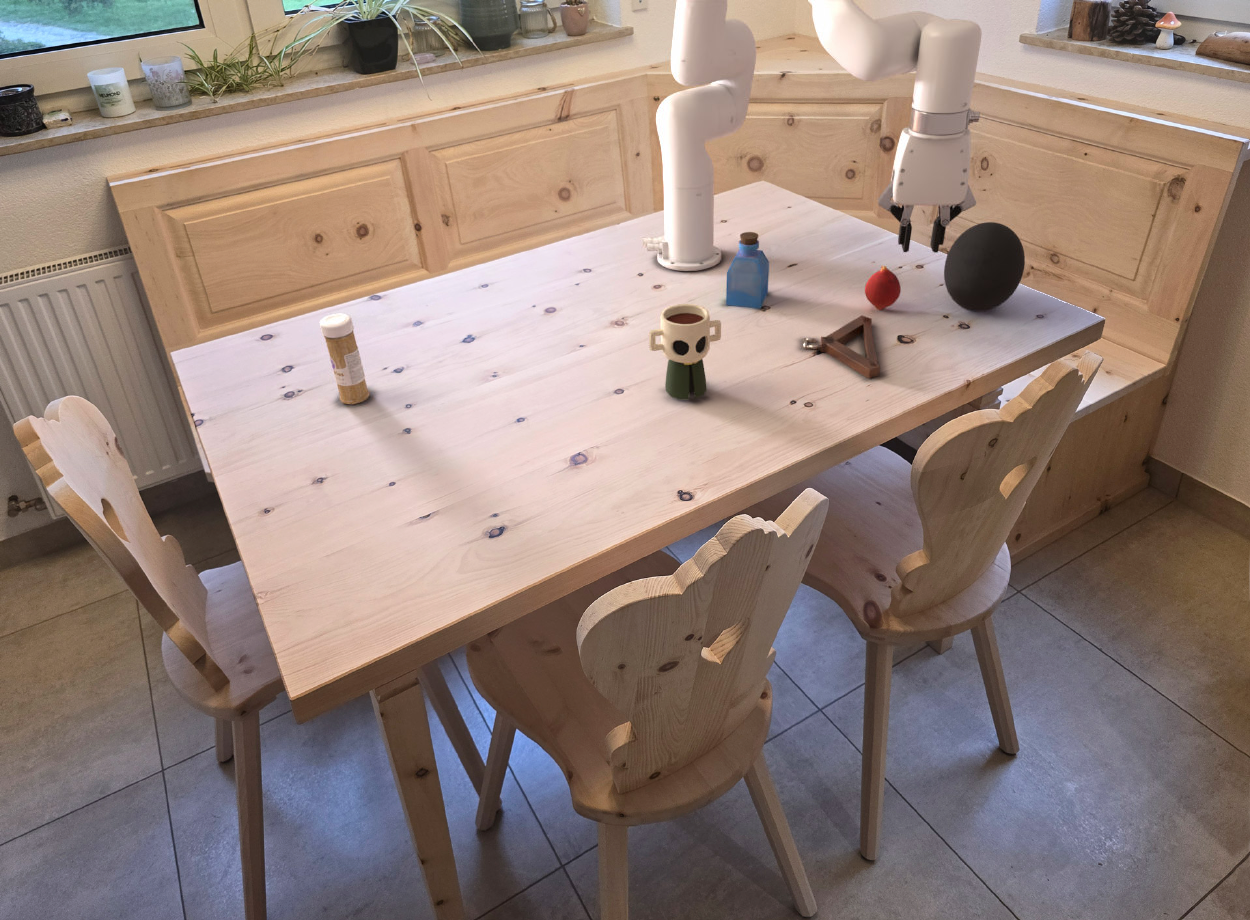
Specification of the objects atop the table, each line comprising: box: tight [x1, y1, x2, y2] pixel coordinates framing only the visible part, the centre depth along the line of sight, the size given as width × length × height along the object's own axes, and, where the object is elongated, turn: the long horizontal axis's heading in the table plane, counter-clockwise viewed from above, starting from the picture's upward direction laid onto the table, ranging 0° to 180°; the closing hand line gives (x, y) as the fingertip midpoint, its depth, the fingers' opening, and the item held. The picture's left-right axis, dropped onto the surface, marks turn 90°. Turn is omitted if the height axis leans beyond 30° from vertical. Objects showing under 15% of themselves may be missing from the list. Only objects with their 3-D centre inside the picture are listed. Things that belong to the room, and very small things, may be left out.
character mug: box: [648, 303, 722, 401], centre depth 131 cm, size 11×7×13 cm, turn 104°
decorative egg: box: [943, 221, 1026, 312], centre depth 149 cm, size 12×12×15 cm
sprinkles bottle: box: [319, 313, 370, 405], centre depth 134 cm, size 5×5×13 cm
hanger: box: [802, 314, 881, 379], centre depth 143 cm, size 11×18×2 cm, turn 171°
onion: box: [864, 265, 902, 311], centre depth 152 cm, size 6×6×8 cm
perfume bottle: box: [725, 231, 770, 309], centre depth 157 cm, size 6×6×12 cm
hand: (919, 247), depth 132 cm, fingers open, 3 cm apart
